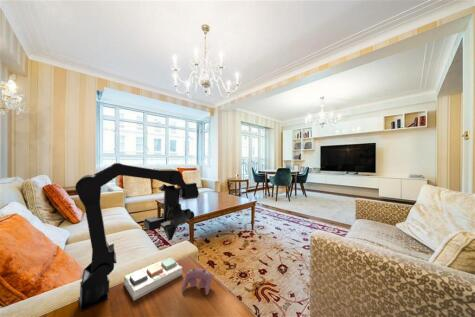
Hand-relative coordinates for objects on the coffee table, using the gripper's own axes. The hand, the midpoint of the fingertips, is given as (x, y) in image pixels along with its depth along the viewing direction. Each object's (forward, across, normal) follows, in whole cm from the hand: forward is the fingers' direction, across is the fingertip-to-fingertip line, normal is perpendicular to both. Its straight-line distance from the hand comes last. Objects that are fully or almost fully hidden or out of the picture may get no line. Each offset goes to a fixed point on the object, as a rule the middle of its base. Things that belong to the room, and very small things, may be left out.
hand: (169, 239), depth 68 cm
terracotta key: (+11, -6, 0) cm, 12 cm away
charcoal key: (+11, -11, 0) cm, 15 cm away
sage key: (+11, 0, 0) cm, 11 cm away
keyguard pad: (+13, -6, 0) cm, 14 cm away
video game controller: (+13, +3, -15) cm, 20 cm away
